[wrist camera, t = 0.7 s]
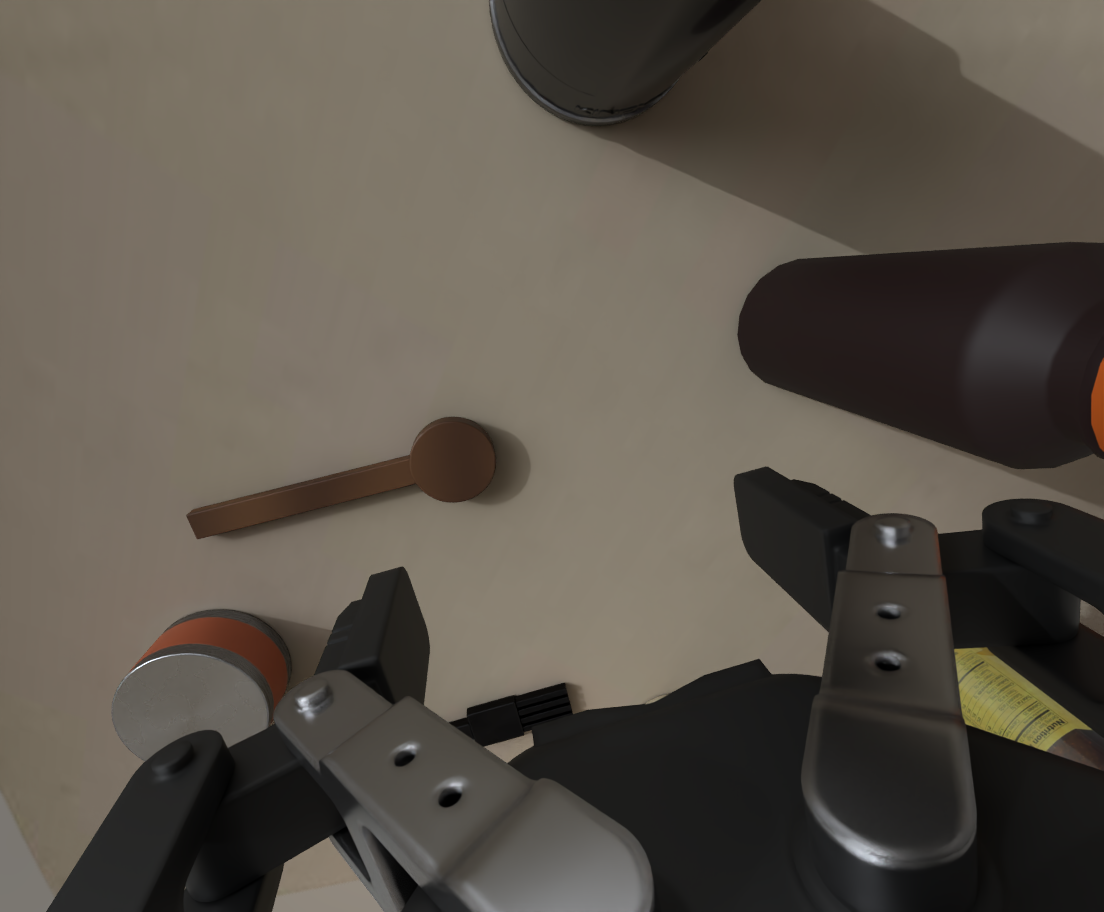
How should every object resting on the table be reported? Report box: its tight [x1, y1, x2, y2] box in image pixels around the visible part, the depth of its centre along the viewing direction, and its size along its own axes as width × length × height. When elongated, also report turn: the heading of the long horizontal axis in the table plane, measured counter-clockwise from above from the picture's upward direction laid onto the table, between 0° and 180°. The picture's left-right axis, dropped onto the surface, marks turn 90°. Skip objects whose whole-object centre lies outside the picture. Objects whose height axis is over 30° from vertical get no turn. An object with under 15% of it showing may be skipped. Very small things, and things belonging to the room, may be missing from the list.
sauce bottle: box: [954, 647, 1104, 771], centre depth 30 cm, size 6×6×20 cm
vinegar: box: [738, 242, 1104, 469], centre depth 22 cm, size 7×7×20 cm
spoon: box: [186, 417, 496, 539], centre depth 30 cm, size 16×4×1 cm, turn 102°
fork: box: [449, 683, 573, 747], centre depth 35 cm, size 16×3×1 cm, turn 102°
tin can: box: [112, 610, 291, 761], centre depth 31 cm, size 7×7×4 cm
